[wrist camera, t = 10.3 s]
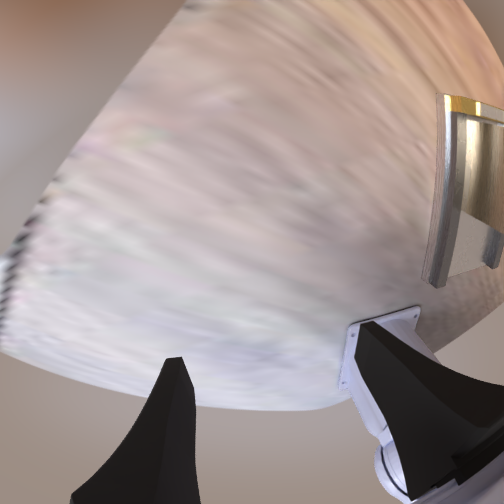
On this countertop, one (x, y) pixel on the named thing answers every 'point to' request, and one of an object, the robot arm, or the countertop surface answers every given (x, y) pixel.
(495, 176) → the tan notched block
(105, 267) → the countertop surface
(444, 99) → the silver channel bracket
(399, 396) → the robot arm
